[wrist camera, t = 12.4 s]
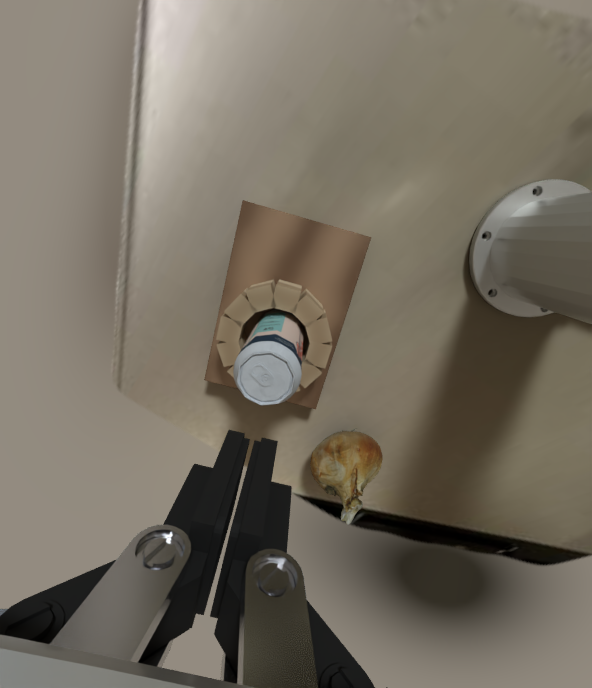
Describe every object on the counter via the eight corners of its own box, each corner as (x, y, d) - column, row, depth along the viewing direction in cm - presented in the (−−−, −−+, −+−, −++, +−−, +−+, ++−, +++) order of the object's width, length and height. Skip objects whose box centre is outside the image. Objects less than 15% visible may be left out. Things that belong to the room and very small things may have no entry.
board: (366, 237, 35) (378, 238, 30) (315, 398, 41) (316, 426, 35) (247, 202, 35) (235, 196, 29) (210, 371, 40) (194, 394, 34)
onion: (391, 448, 42) (410, 496, 35) (338, 486, 44) (345, 539, 37) (350, 404, 41) (360, 444, 33) (297, 444, 43) (294, 491, 35)
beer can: (278, 364, 37) (264, 424, 26) (245, 330, 36) (215, 376, 25) (313, 333, 36) (315, 381, 24) (280, 298, 35) (266, 330, 23)
